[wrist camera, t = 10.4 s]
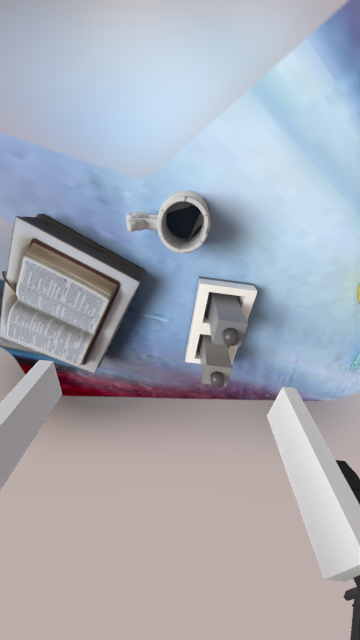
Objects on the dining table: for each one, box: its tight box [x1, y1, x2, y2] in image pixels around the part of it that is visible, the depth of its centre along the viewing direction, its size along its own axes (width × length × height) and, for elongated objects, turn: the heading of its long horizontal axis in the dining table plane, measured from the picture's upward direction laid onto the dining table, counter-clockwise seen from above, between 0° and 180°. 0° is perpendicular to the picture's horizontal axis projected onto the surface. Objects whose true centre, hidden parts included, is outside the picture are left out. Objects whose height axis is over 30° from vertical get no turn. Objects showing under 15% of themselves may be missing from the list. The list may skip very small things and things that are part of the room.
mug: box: [126, 191, 211, 253], centre depth 28 cm, size 8×12×12 cm, turn 87°
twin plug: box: [200, 334, 232, 388], centre depth 39 cm, size 4×4×12 cm
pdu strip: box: [185, 277, 258, 365], centre depth 41 cm, size 10×18×4 cm, turn 173°
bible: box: [0, 214, 145, 373], centre depth 38 cm, size 23×27×10 cm
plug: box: [208, 292, 248, 347], centre depth 35 cm, size 4×4×12 cm
